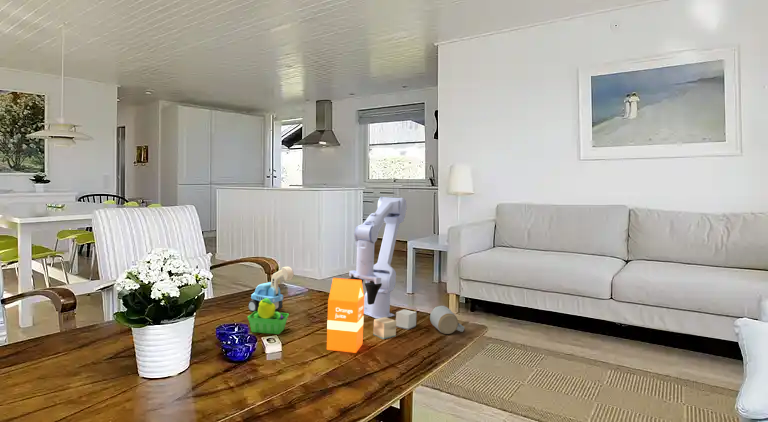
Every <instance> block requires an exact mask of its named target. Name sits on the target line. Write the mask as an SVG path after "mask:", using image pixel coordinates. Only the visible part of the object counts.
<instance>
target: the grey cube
mask: <svg viewBox="0 0 768 422" xmlns="http://www.w3.org/2000/svg"><path fill="white" fill-rule="evenodd" d="M395 321H396V328H400V329H403V330H407V331H409V330H411V329H413V328H415V327H417V311H413V310H409V309H404V308H403V309H401V310H398V311H396V312H395Z"/></svg>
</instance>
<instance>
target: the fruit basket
mask: <svg viewBox="0 0 768 422" xmlns="http://www.w3.org/2000/svg"><path fill="white" fill-rule="evenodd" d="M275 308H276V307H275V305H274V304H273V303H272V302H271V301H270V300H269V299H268V298H265V299H263V300H261V301H260V303H259V307H258V310H257V311H252V313H251V314H249V315H248V316H247V320H248V322H249V323H248V324H249V327H250V330H251V333H258V334H259V333H260V334H271V335H272V334H273V335H280V334H281V333H282V332H283V331H284V330H285V328H286V325H287V324H286V323H287V321H288V317H289V315H290V314H289V313H288V312H279V310H275Z"/></svg>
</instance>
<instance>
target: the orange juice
mask: <svg viewBox="0 0 768 422" xmlns="http://www.w3.org/2000/svg"><path fill="white" fill-rule="evenodd" d="M364 296H365V294H364V288H363V283H362V280H355V279H348V278H340V277H332V282H331V285H330V292H329V296H328V299H327V321H326V323H327V325H326V329H327V330H326V350H327V351H338V352H345V353H346V352H347V353H354V354H357V352H358V351H359V350H360V348H361V347H362V345H363V340H364V338H363V337H364V319H365V318H364V317H365V316H364V315H365V314H364Z"/></svg>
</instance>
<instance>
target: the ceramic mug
mask: <svg viewBox="0 0 768 422" xmlns="http://www.w3.org/2000/svg"><path fill="white" fill-rule="evenodd" d="M429 320H430V323H431V324H432V326H433V327H435V329H436V330H437V331H439V332H440V333H442V334H444V335H451V334H453V333H455V331H458V332H461V333H463V332H464V330H465V326H463V324H461V323H460V322H459V321H458V317H457V315H456V314H455V313H454V312H453V311H452V310H451V309H450V308H449V307H447V306H445V305H438V306H435V307H434V308H433V309H432V310H431V312H430V315H429Z"/></svg>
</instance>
